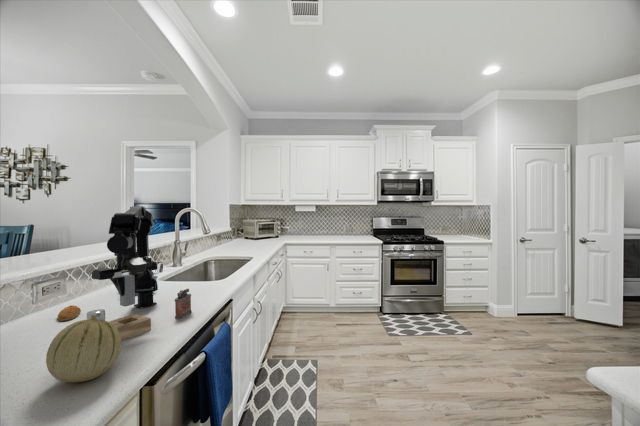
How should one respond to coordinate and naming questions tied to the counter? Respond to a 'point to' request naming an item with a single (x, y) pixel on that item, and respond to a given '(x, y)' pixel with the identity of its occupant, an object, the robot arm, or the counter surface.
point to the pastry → (69, 313)
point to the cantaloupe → (83, 350)
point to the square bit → (128, 291)
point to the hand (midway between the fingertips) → (127, 294)
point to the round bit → (96, 314)
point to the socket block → (131, 325)
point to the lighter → (182, 304)
